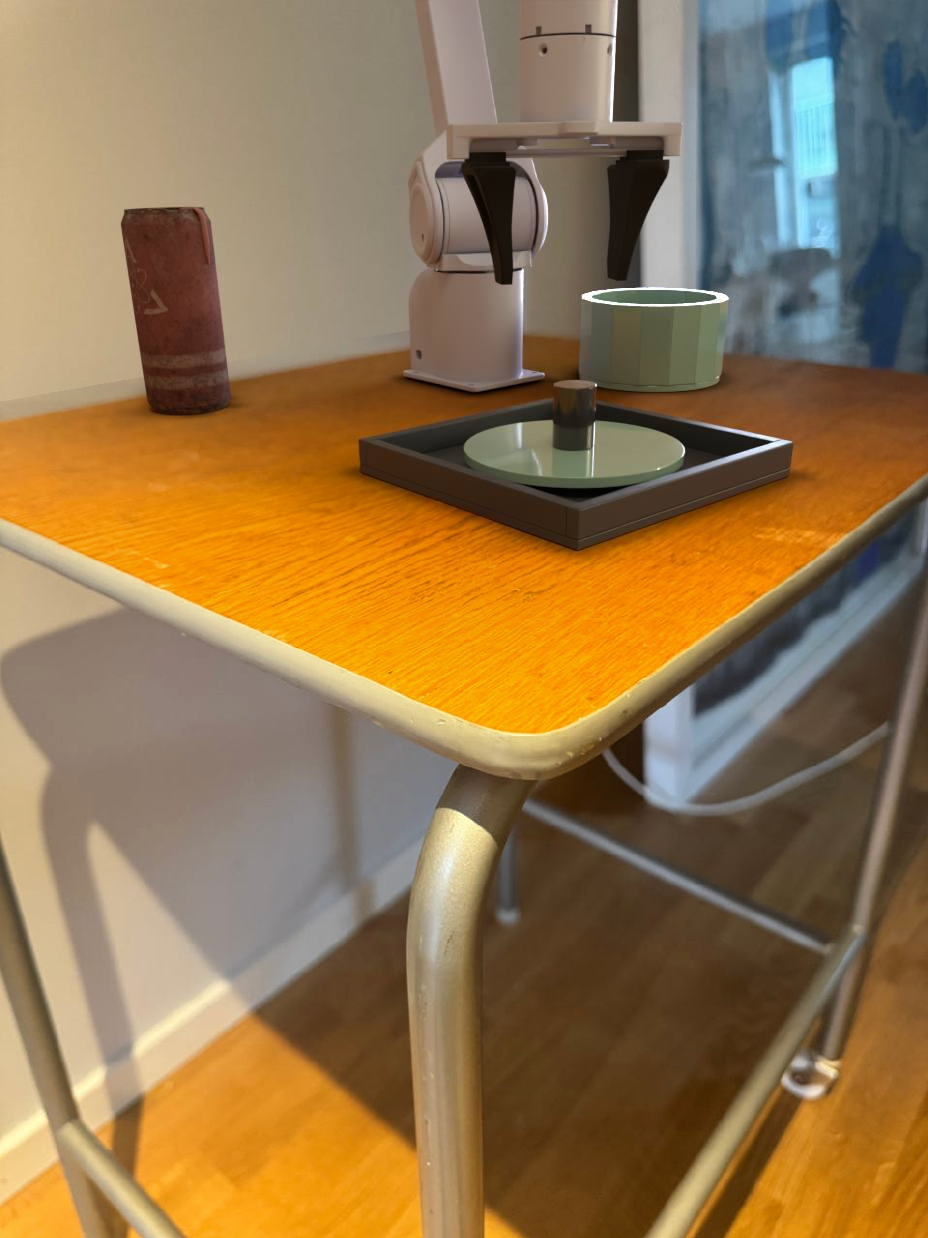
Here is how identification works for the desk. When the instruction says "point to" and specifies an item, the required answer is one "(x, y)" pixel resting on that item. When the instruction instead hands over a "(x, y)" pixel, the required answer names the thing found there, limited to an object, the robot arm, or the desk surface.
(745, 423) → the desk surface
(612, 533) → the tray
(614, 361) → the pot
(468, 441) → the lid
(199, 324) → the can
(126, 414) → the desk surface
